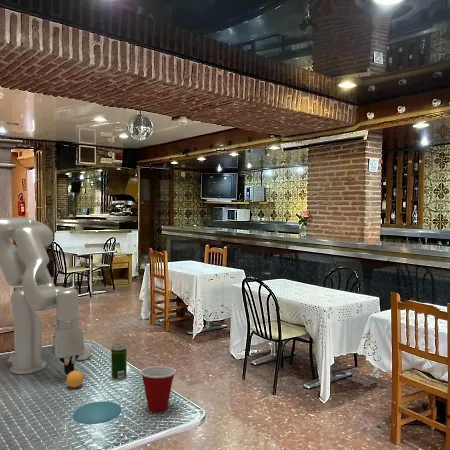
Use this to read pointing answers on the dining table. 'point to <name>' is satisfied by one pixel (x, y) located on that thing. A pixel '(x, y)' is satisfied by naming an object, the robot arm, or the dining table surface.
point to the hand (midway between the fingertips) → (69, 374)
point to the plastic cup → (157, 386)
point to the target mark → (97, 412)
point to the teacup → (85, 352)
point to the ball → (74, 378)
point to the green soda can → (119, 361)
